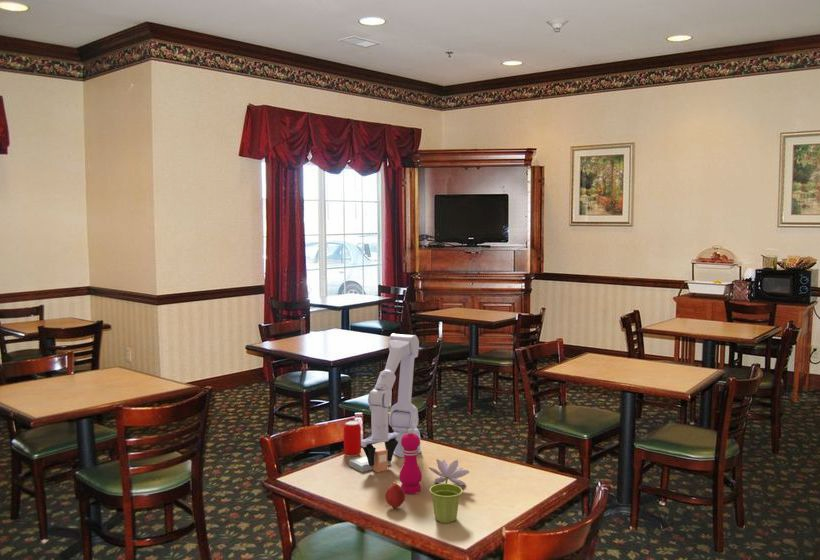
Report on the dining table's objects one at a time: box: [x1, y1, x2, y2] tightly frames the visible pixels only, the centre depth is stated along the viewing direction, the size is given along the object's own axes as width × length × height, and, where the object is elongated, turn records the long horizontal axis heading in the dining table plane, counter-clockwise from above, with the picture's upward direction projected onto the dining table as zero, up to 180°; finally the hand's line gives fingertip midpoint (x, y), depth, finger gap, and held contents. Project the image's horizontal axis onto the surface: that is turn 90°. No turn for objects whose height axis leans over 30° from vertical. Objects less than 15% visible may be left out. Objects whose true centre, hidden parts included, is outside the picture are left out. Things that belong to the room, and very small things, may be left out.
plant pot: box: [429, 483, 463, 524], centre depth 198 cm, size 9×9×9 cm
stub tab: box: [373, 447, 389, 473], centre depth 238 cm, size 4×3×7 cm
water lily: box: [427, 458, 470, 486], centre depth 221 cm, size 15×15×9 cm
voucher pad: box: [349, 455, 392, 473], centre depth 243 cm, size 12×8×2 cm, turn 128°
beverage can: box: [343, 420, 362, 458], centre depth 254 cm, size 6×6×12 cm
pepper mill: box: [398, 429, 423, 495], centre depth 219 cm, size 7×7×20 cm
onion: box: [384, 482, 406, 510], centre depth 206 cm, size 6×6×8 cm
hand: (380, 463), depth 238 cm, fingers open, 7 cm apart
